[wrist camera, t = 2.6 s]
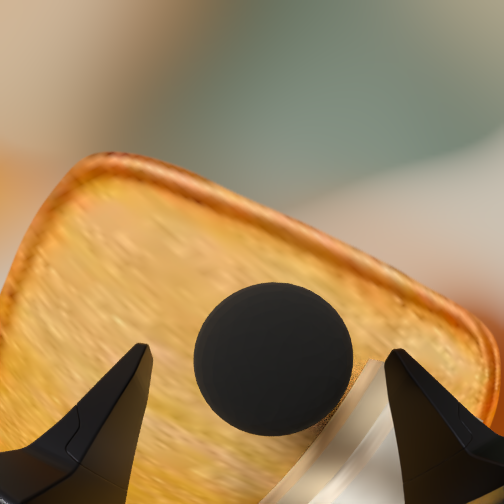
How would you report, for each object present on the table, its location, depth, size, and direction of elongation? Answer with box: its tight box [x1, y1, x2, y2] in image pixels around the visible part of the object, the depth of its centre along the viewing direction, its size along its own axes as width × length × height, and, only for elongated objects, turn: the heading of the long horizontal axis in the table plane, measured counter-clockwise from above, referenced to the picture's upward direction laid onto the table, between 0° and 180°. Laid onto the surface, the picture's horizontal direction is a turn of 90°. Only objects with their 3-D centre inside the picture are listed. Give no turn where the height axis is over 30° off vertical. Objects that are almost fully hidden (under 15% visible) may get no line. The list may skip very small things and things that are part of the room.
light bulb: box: [194, 282, 353, 436], centre depth 12 cm, size 6×6×10 cm
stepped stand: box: [258, 359, 483, 504], centre depth 12 cm, size 14×14×4 cm
